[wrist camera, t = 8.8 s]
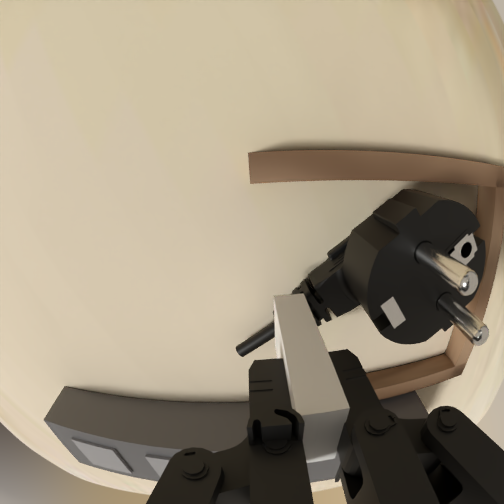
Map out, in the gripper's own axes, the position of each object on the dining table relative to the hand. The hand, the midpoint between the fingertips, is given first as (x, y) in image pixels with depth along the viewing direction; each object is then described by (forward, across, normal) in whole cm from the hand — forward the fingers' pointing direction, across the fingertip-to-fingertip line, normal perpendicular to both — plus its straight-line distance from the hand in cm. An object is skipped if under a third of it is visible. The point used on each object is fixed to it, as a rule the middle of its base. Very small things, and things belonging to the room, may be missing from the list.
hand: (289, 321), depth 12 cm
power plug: (-2, -3, -2) cm, 4 cm away
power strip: (+2, -4, -10) cm, 11 cm away
